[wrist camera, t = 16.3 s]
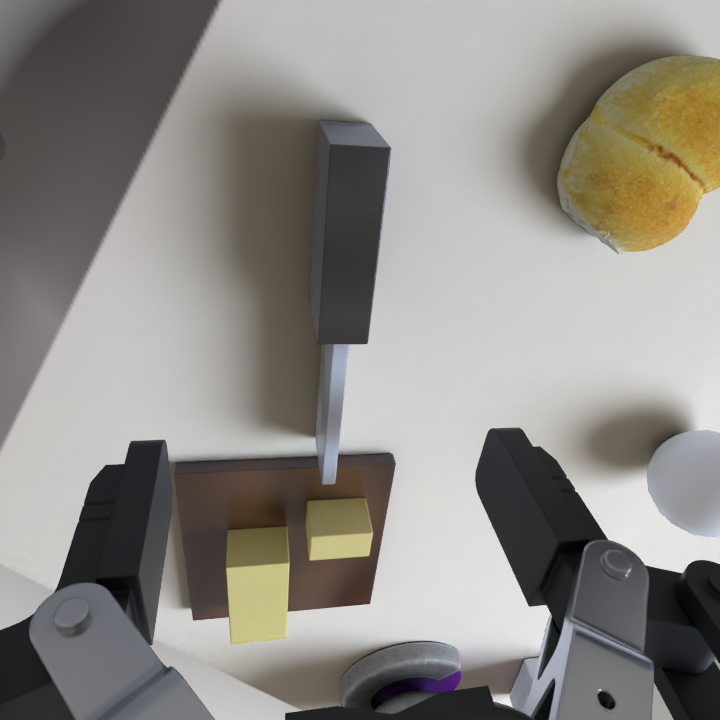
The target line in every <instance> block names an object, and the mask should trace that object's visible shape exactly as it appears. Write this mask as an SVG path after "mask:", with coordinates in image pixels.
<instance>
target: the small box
mask: <svg viewBox="0 0 720 720" xmlns="http://www.w3.org/2000/svg"><path fill="white" fill-rule="evenodd" d="M538 659H539V657H538V658H530V659H525V660H524V661H523V664H522V666H521V669H520V671H519V674H518V676H517V678H516V681H515V683H514V685H513V688H512V691H511V693H510V695H509V696H510V700H511V703H512V706H513V708H515V709H517V710H519V711H521V712H523V710H524V707H525V705H526V702H527V700H528V697H529V694H530V691H531V687H532V683H533V679H534V675H535V671H536V667H537V663H538Z"/></svg>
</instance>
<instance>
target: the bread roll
mask: <svg viewBox="0 0 720 720" xmlns="http://www.w3.org/2000/svg"><path fill="white" fill-rule="evenodd" d="M719 187H720V60H719V59H715V58H710V57H701V56H693V55H685V56H677V55H674V56H669V57H665V58H661V59H657V60H654V61H651V62H648V63H645V64H643V65H641V66H639V67H637V68H635V69H633V70H631V71H630V72H628V73H627V74H625V75H624V76H623V77H621V78H620V79H619V80H618V81H616V82H615V83H614V84H613V85H612V86H611V87H610V88H608V89H607V90H606V91H605V92H604V94H603V95H602V96H601V97H600V98H599V100H598V101H597V102H596V104H595V106H594V108H593V110H592V112H591V114H590V116H589V117H588V118H587V119H586V120H585V121H584V122H583V124H582V125H581V126H580V127H579V128H578V129H577V130H576V132H575V133H574V135H573V136H572V138H571V140H570V142H569V144H568V146H567V148H566V150H565V153H564V155H563V158H562V160H561V165H560V169H559V172H558V176H557V189H558V194H559V198H560V204H561V207H562V209H563V210H564V211H565V212H566V213H567V214H568V215H569V216H570V217H571V218H572V219H573V220H574V221H575V222H576V223H577V224H578V225H579V226H582V227H583V228H584V229H586V231H587V232H588V233H589V234H591V235H592V236H594V237H597V238H599V240H600V241H601V242H602V243H604V244H606V245H607V246H609V247H610V248H611V249H612V250H614V251H615V252H617V253H618V254H620V253H623V252H629V251H644V250H649V249H652V248H655V247H657V246H660V245H662V244H664V243H666V242H668V241H670V240H671V239H673V238H674V237H676V236H677V235H678V234H680V233H681V232H682V231H683V230H684V229H685V228H686V226H687V225H688V223H689V221H690V220H691V218H692V217H693V215H694V214H695V211H696V209H697V207H698V204H699V202H700V200H701V198H702V195H703V194H705V193H708V192H710V191H712V190H714V189H717V188H719Z"/></svg>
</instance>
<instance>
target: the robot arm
mask: <svg viewBox="0 0 720 720" xmlns="http://www.w3.org/2000/svg"><path fill="white" fill-rule="evenodd" d="M475 481H476V488H477V492H478V495H479V497H480V499H481V502H482V504H483V506H484V508H485V510H486V513H487V515H488V517H489V519H490V521H491V524H492V526H493V528H494V530H495V532H496V535H497V537H498V539H499V541H500V543H501V546H502V548H503V550H504V552H505V554H506V557H507V559H508V561H509V563H510V565H511V568H512V570H513V572H514V574H515V577H516V579H517V581H518V583H519V585H520V588H521V590H522V592H523V594H524V596H525V599H526V601H527V603H528V605H529V607H530V606H539V605H547V607H548V609H549V611H550V613H551V615H550V617H549V619H548V622H547V625H546V630H545V634H544V638H543V642H542V646H541V650H540V654H539V659H538V663H537V667H536V671H535V675H534V679H533V683H532V687H531V691H530V694H529V697H528V700H527V702H526V705H525V707H524V710H523V712H521V711H519V710H517V709H515V708H512V707H510V706H507V705H503V704H500V703H496V702H493V699H492V697H491V694H490V691H489V688H488V686H483V687H475V688H468V689H461V690H453V691H446V692H440V693H438V694H436V695H434V696H432V697H430V698H427V699H425V700H423V701H421V702H419V703H417V704H415V705H413V706H410V707H408V708H406V709H404V710H402V711H400V712H397V713H393V714H387V713H381V712H374V711H367V710H360V709H354V708H347V707H340V706H336V707H328V708H321V709H314V710H306V711H299V712H292V713H286V714H285V720H652V703H653V685H654V683H655V685H656V687H657V689H658V690H659V692H660V694H661V696H662V698H663V700H664V702H665V704H666V706H667V708H668V709H669V711H670V713H671V715H672V717H673V719H674V720H720V670H719V668H718V667H717V665H716V663H715V662H714V660H715V659H717V660H718V662H719V663H720V564H717V563H714V562H711V561H706V560H698V561H694V562H692V563H690V564H689V565H688V566H687V568H686V569H685V571H684V572H683V574H682V573H678V572H673V571H668V570H663V569H659V568H654V567H649V566H646V565H644V563H643V562H642V561H641V559H640V558H639V557H638V556H637V555H636V554H635V553H634V552H632V551H631V550H630V549H628V548H627V547H625V546H623V545H621V544H619V543H616V542H614V541H610V540H608V539H607V537H606V536H605V534H604V533H603V531H602V530H601V528H600V527H599V525H598V523H597V522H596V520H595V519H594V517H593V516H592V514H591V513H590V511H589V510H588V508H587V507H586V505H585V504H584V502H583V500H582V499H581V497H580V496H579V494H578V493H577V492H575V488H574V487H573V485H572V484H571V482H570V480H569V479H567V478H566V474H565V473H564V471H563V470H562V468H561V467H560V465H559V464H558V462H557V460H555V459H554V458H553V457H552V456H551V455H549V454H548V453H547V452H546V451H545V450H544V449H542V448H541V447H533V446H532V444H531V443H530V441H529V440H528V438H527V436H526V435H525V433H524V432H523V430H522V429H520V428H495V429H490V430H489V431H488V433H487V436H486V439H485V443H484V446H483V449H482V453H481V456H480V459H479V463H478V466H477V469H476V476H475ZM171 510H172V484H171V476H170V468H169V460H168V452H167V444H166V441H165V440H147V441H131V443H130V445H129V448H128V452H127V456H126V460H125V464H118V465H105V467H104V468H103V469H102V470H101V471H100V472H99V473H98V475H97V476H96V477H95V478H94V479H93V480H92V481H91V483H90V486H89V489H88V492H87V495H86V498H85V502H84V506H83V508H82V511H81V514H80V517H79V523H78V524H77V527H76V530H75V533H74V536H73V540H72V543H71V546H70V549H69V552H68V556H67V559H66V562H65V565H64V568H63V571H62V575H61V578H60V581H59V584H58V586H57V588H56V590H55V592H54V594H52V595H51V596H50V597H48V598H47V599H46V600H45V601H44V602H43V603H42V604H41V605H40V606H39V607H38V609H37V610H36V612H35V613H34V614H33V615H31V616H30V617H28V618H27V619H25V620H23V621H21V622H19V623H17V624H15V625H12V626H10V627H8V628H5V629H2V630H0V720H215V719H214V718H213V716H212V715H211V714H210V712H209V711H208V710H207V708H206V707H205V706H204V704H203V703H202V702H201V700H200V699H199V698H198V696H197V695H196V694H195V692H194V691H193V690H192V688H191V687H190V686H189V684H188V683H187V682H186V680H185V679H184V678H183V677H182V675H181V674H180V673H179V672H178V671H177V670H176V669H175V668H173V667H171V666H170V667H169V668H168V667H166V666H165V665H164V664H163V663H162V662H161V661H160V659H159V658H158V657H157V655H156V654H155V653H154V651H153V650H152V648H151V647H150V646H149V645H152V643H153V636H154V630H155V623H156V616H157V609H158V602H159V595H160V588H161V581H162V574H163V567H164V560H165V553H166V546H167V539H168V532H169V525H170V518H171Z"/></svg>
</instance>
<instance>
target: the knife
mask: <svg viewBox="0 0 720 720" xmlns="http://www.w3.org/2000/svg"><path fill="white" fill-rule="evenodd" d="M390 156H391V147H390V146H389V145H388V144H387V143H386V141H385V140H384V139H383V138H382V136H381V135H380V134H379V133H378V132H377V130H376V129H375V128H374V127H373V125H372V124H370V123H358V122H343V121H329V120H319V121H318V142H317V162H316V182H315V202H314V222H313V243H312V263H311V283H310V303H311V309H312V315H313V320H314V326H315V331H316V337H317V343H318V344H322V347H321V362H320V377H319V392H318V407H317V422H316V437H315V439H316V446H317V454H318V461H319V468H320V476H321V483H322V485H326V484H335V480H336V470H337V460H338V450H339V440H340V430H341V420H342V410H343V400H344V390H345V379H346V369H347V359H348V349H349V344H367V343H368V337H369V329H370V321H371V312H372V304H373V296H374V288H375V280H376V271H377V263H378V255H379V247H380V239H381V230H382V222H383V214H384V206H385V198H386V189H387V181H388V173H389V165H390Z"/></svg>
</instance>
